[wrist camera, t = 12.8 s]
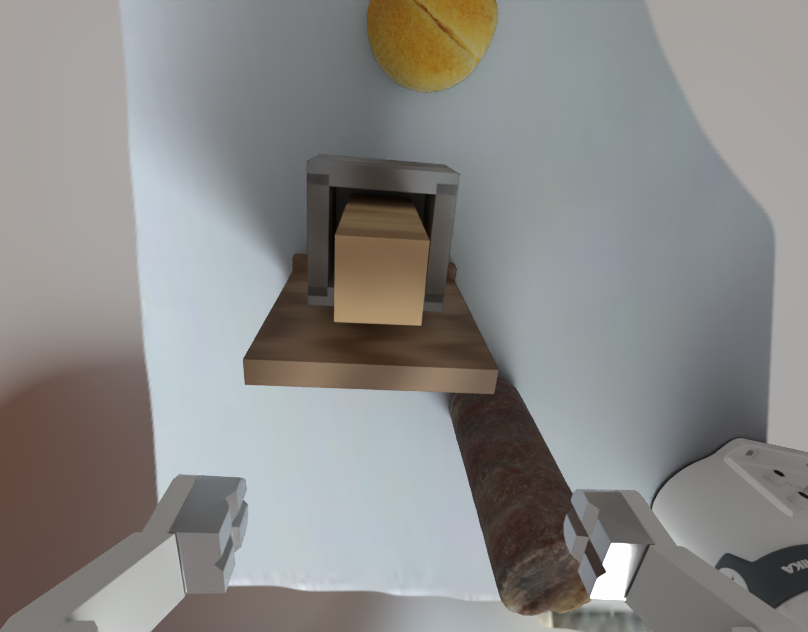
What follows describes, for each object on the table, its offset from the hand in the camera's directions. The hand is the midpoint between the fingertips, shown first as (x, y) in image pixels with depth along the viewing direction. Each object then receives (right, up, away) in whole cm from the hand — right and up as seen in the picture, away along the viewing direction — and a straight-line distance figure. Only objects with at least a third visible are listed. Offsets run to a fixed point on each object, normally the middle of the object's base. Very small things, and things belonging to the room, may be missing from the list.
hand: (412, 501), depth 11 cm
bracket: (-3, +11, +27) cm, 29 cm away
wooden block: (-2, +11, +19) cm, 22 cm away
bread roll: (+2, +26, +21) cm, 33 cm away
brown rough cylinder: (+8, -4, +34) cm, 35 cm away
